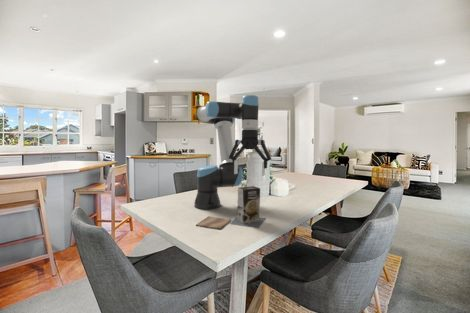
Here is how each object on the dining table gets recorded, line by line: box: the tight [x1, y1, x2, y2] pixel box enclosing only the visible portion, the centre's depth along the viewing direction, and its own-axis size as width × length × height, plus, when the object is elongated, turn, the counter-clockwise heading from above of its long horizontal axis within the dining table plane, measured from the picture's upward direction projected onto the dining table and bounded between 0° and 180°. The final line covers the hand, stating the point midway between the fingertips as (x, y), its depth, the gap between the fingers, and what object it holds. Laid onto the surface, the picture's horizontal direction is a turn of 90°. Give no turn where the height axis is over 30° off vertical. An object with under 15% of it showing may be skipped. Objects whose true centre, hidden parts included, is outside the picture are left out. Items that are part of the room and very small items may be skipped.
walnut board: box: [195, 216, 232, 231], centre depth 109 cm, size 12×12×1 cm
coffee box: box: [236, 185, 261, 224], centre depth 111 cm, size 9×6×16 cm
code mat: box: [229, 216, 267, 229], centre depth 112 cm, size 14×14×1 cm
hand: (249, 174), depth 110 cm, fingers open, 13 cm apart
